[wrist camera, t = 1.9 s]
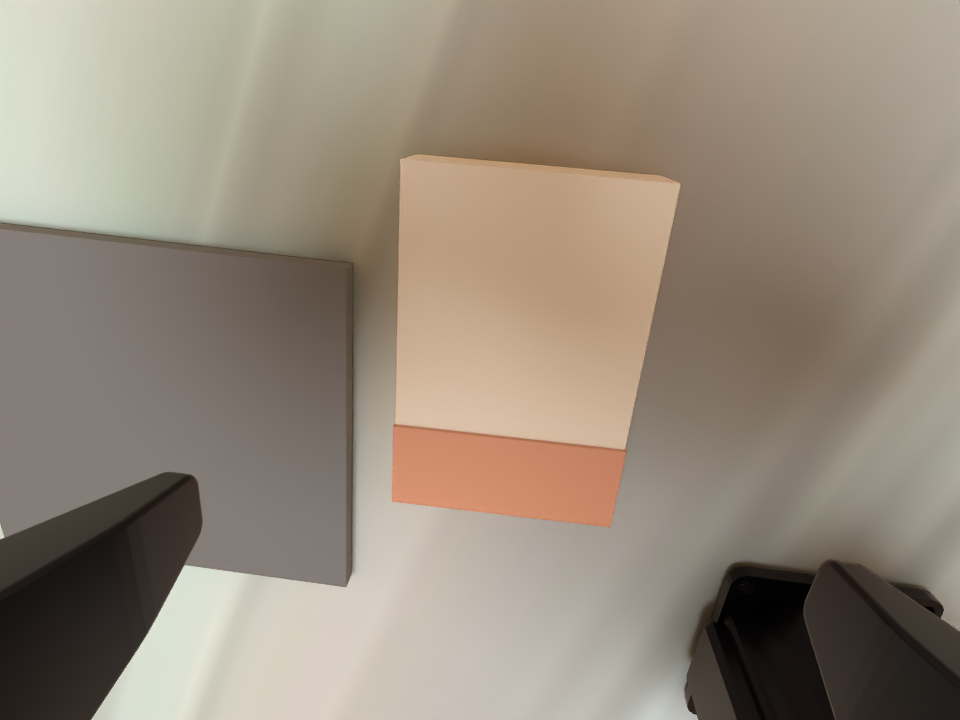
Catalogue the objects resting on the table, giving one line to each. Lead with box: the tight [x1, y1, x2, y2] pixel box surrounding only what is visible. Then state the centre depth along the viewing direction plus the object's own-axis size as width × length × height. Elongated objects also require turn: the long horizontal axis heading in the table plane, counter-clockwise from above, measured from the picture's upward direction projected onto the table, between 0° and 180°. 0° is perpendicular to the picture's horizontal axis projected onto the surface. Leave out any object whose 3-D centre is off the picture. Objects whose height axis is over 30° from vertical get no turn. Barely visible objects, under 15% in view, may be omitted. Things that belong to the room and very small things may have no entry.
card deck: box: [392, 154, 681, 527], centre depth 15 cm, size 6×9×2 cm
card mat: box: [0, 223, 353, 587], centre depth 17 cm, size 12×11×1 cm
